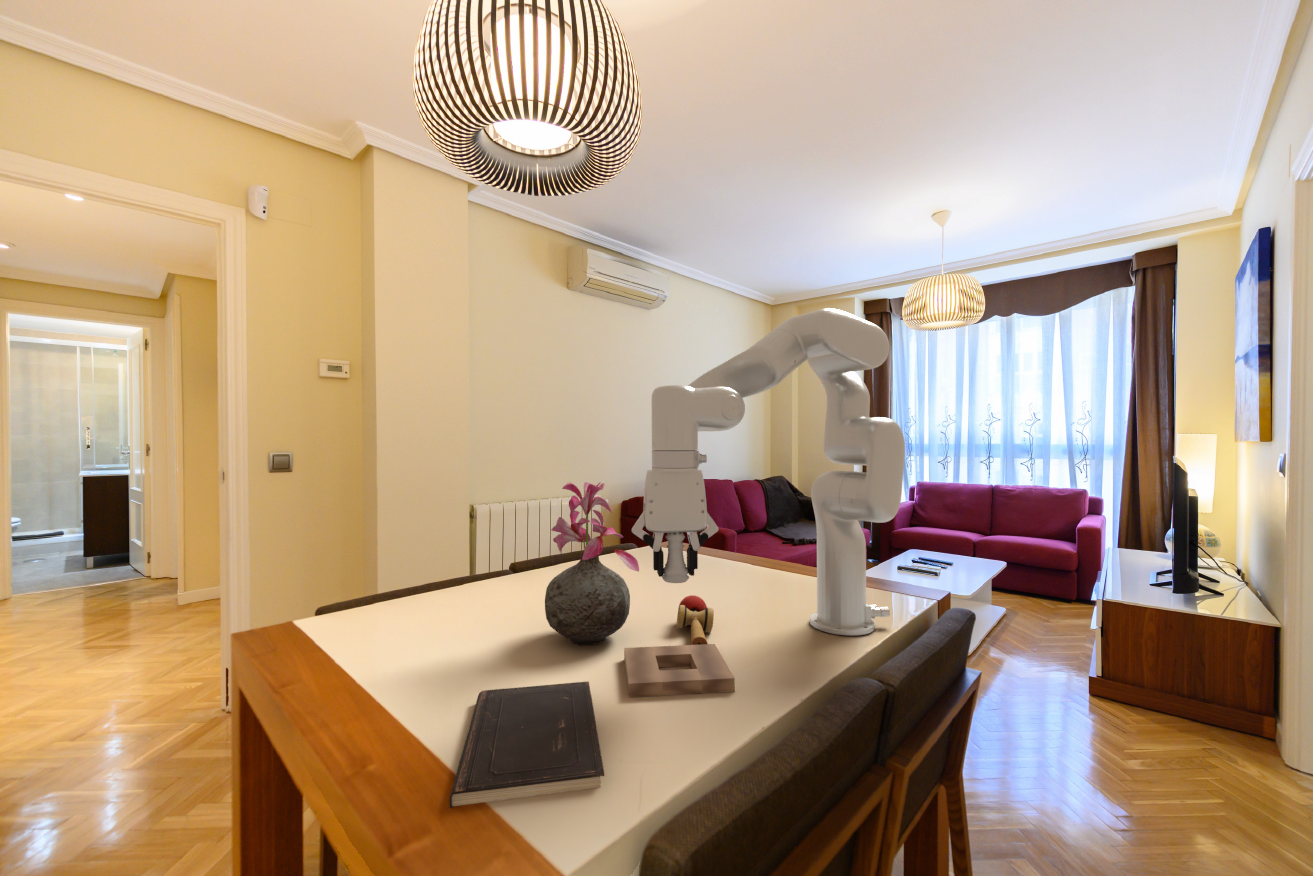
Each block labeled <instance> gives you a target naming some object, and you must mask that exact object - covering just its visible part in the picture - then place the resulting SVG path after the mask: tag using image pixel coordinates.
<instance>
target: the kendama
mask: <svg viewBox="0 0 1313 876" xmlns="http://www.w3.org/2000/svg"><path fill="white" fill-rule="evenodd" d="M677 608H678V610H677V616H676V627H677V628H678V629H683V628H684V627H686V626H690V634H691V635H690V636H691V637H690V638H691V640H690V642H691V643H690V645H701V644H709V643H708V641H707V638H706V635H705V633H709V634H710V633H712V630H713V626H714V613H715V612H714V608H713V607H710V606H709V607H708V606H707V604H706V602H705V601H704V600H703V598H702V597H700V596H697V595H687V596H685V597H684V598H683V599H681V601H680V603H679V605H678V607H677Z"/></svg>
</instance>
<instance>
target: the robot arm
mask: <svg viewBox="0 0 1313 876" xmlns="http://www.w3.org/2000/svg"><path fill="white" fill-rule="evenodd" d="M889 353H890V341H889V338H888V336H887V334H886V332H885V331H884V330H883V329H882V328H881V327H880V326H878V325H877V324H875V323H873V322H871V321H868V320H866V319H864V318H861V317H858V316H857V315H854V314H852V313H849V312H847V311H844V310H841V309H836V308H830V307H827V308H821V309H818V310H813V311H810V312H806V313H802V314H797V315H794V316H791V317H790V318H788V319H786V320H784V321H782V322H781V323H780V324H779V325H777V326H776V327H774V329H772V330H771V331H770V332H768V333H766V335H765V336H763V337H762V338H760V339H759V340H758V341H756V342H755V343H754V344H753V345H752V346H750V347H749V348H747V349H746V350H744V351H742V352H740V353H738V354H735V356H733V357H731V358H730V359H728V360H726V361H725V362H722V363H721V364H719V365H717V366H716V367H713V368H712V369H710V370H708V371H707V372H705V373H703V374H702V375H700V376H699V377H697V378H695V379H694V380H693V381H692V382H690V383H689V384H688V385H680V384H679V385H678V384H675V385H672V384H671V385H661V386H658V387H656V388H654V389H653V391H652V393H651V469H649V470H646V475H645V479H644V480H645V482H644V488H643V489H644V490H643V491H644V492H643V507H642V510H643V511H642V513H641V514H640V516H639V517H638V519H637V520H636V522H635V523H634V525H633V526H632V528H631V533H632V534H634V535H635V536H636V537H638V538H639V539H641V540H642V541H644V543H645V544H647V545H648V546H649V547H650V548H651V550H652V554H653V555H652V556H653V561H652V562H653V565H652V566H653V568H652V569H653V571H657V572H656V573H657V575H658V577H659V578H662V576H664V567H665V564H664V558H665V557H664V550H662V549H663V548H662V542H663V537H664V534H665V533H667V534H668V533H672V532H683V533H686V534H687V539H688V542H689V543H688V547H687V549H686V567H687V568H688V571H689V573H688V576H692V577H694V576H695V570H698V566H699V562H698V561H699V559H698V557H699V556H698V551H699V550H700V549H701V547H702V546H703V545H704V543H706V542H707V540H708V539H709V538H711V537H713V535H715V534H716V533H718V531H719V526H718V525H717V523H716V522H715V520H714V519H713V518H712V516H710V514H709V512H708V510H707V509H708V507H707V506H708V505H707V497H706V496H707V495H706V488H705V487H706V485H705V479H704V475H703V471H702V469H699V466H700V465H701V464H702V463H707V459H708V458H707V454H702V453H700V452H699V446H698V445H699V443H698V441H699V439H698V438H699V432H723V431H728V430H731V429H734V428H735V427H736V426H738V425H739V424H740V423H741V422H742V421H743V418H744V416H745V414H746V405H745V402H744V398H748V397H751V396H755V395H757V394H761V393H763V392H766V391H768V390H771V389H773V388H775V387H777V386H778V385H779V384H781V382H782V381H784V380H785V379H786V378H787V377H788V376H789V375H790V374H791V373H793V372H794V371H795V370H796V369H797V368H799V367H800V366H801V365H802V364H803V363H805V362H806V361H807V363H808V365H809V367H810V368H811V370H812V371H813V372H814V373H815V375H816V376H817V378H818V379H819V381H820V383H821V384H822V385H823V388H824V391H825V394H826V413H825V423H824V434H823V452H824V456H825V457H826V458H827V460H828V461H829V462H831V463H834V464H839V465H848V466H849V465H850V466H866V472H863V471H852V470H849V471H848V470H830V471H826V472H823V473H821V474H820V475H818V476H817V477H816V478H815V479H814V481H813V483H812V485H811V491H810V497H811V503H812V508H813V513H814V518H815V527H816V530H815V531H816V595H817V596H816V599H817V600H816V602H817V603H816V605H817V607H816V612H814V613H811V615H809V624H810V625H811V626H812V627H813V628H815V629H817V630H818V631H822V632H825V633H828V634H831V635H832V634H833V635H838V636H852V637H853V636H855V637H857V636H863V635H868V634H871V633H872V632H874V630H875V629H876V628H875V626H876V625H875V622H874V619H876V617H880V618H885V617H886V618H888V617H890V615H891V612H890V608H889V607H888V606H877V605H876V604H869V603H867V553H866V552H867V544H866V543H867V541H866V537H865V534H864V531H863V528H862V527H861V524H860V523H859V521H862V522H868V523H869V522H870V523H877V524H878V523H879V524H880V523H887V522H890V521H891V520H893V519H894V518H895V517H896V515H897V514H898V511H899V509H900V506H901V502H902V493H903V492H902V490H903V480H904V466H905V455H906V454H905V453H906V451H905V450H906V446H905V445H906V443H905V436H904V434H903V431H902V429H901V426H900V425H899V424H898V423H897V422H896V421H894V419H891V418H889V417H885V416H884V417H883V416H881V417H880V416H874V417H870V409H871V407H870V406H871V396H870V392H869V389H868V387H867V385H866V383H865V382H864V381H863V379H862V378H861V377H860V375H859V374H858V373H857V372H861V371H867V370H873V369H876V368H878V367H880V366H882V365H883V364H884V363H885V362H886V360H887V359H888V356H889ZM644 527H645V528H646V530H647V531H649V532H651V533H653V535H652V536H651V535H650V534H649V533H647V532H646V531H644V530H643V528H644ZM698 532H699V533H698Z"/></svg>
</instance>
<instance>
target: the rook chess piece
mask: <svg viewBox="0 0 1313 876" xmlns="http://www.w3.org/2000/svg"><path fill="white" fill-rule="evenodd" d="M685 538H686V535H685V534H684V532H672V533H667V534H666V535H665V540H667V545H666V547H667V559H666V563H665V564H664V576H662V577H661V578H662V580H663V581H664V582H666V583H670V584H682V583H686V582H687V581H688V580H689V579H690V575H689V571H688V568H687V563H686V562H685V558H684V547H685V545H684V543H683V541H684V539H685Z"/></svg>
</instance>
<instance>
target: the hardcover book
mask: <svg viewBox="0 0 1313 876" xmlns="http://www.w3.org/2000/svg"><path fill="white" fill-rule="evenodd" d="M593 704H594V703H593V699H592V693H591V687H590V682H589V681H576V682H566V683H556V684H555V683H554V684H542V685H533V686H522V687H521V686H520V687H507V688H496V689H486V690H481V691H480V692H478V695H477V698H476V702H475V705H474V709H473V713H472V716H471V720H470V724H469V727H468V731H467V734H466V737H465V742H464V744H463V748H462V751H461V756H460V759H459V762H458V767H457V769H456V774H455V777H454V781H453V784H452V788H451V791H450V795H449V809H453V807H458V806H466V805H474V804H481V803H488V802H496V801H504V800H511V799H512V800H513V799H520V798H529V797H535V796H542V795H543V796H544V795H550V794H559V793H565V792H566V793H567V792H573V791H581V790H589V789H595V788H601V784H602V781H601V780H602V779H601V777H605V770H604V765H603V757H602V750H601V746H600V741H599V734H598V729H597V724H596V715H595V711H594V705H593Z"/></svg>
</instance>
